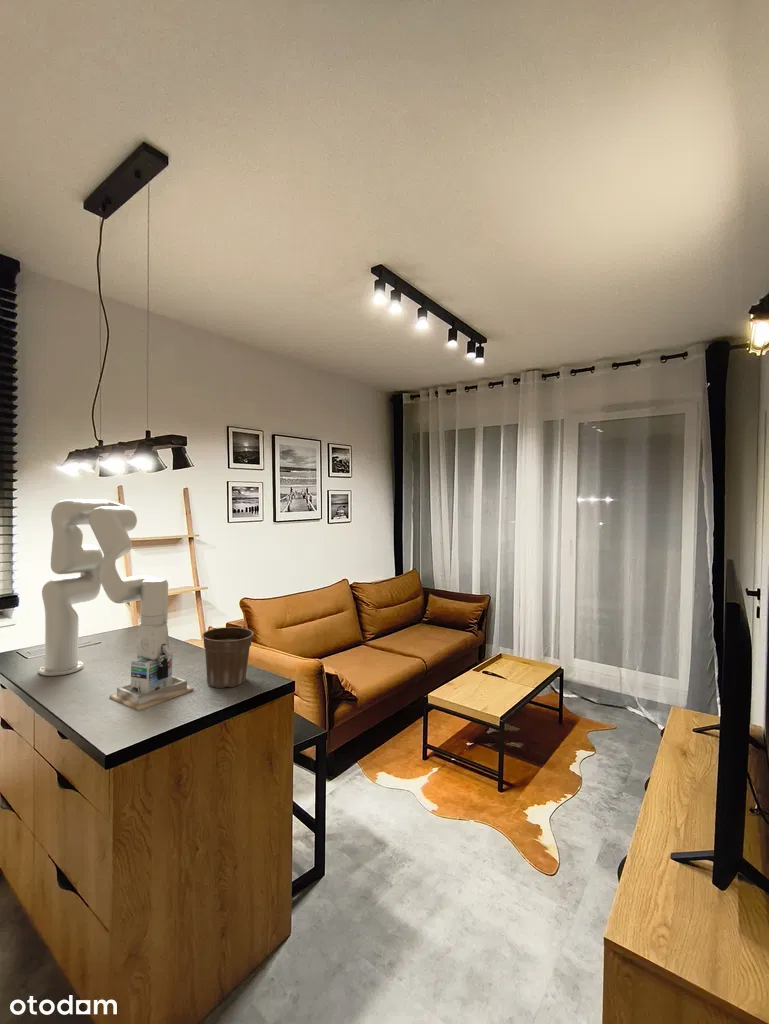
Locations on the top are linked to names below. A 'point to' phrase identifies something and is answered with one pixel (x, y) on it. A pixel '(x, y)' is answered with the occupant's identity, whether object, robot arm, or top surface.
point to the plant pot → (227, 655)
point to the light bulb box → (148, 676)
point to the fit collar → (151, 694)
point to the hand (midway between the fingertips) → (152, 674)
